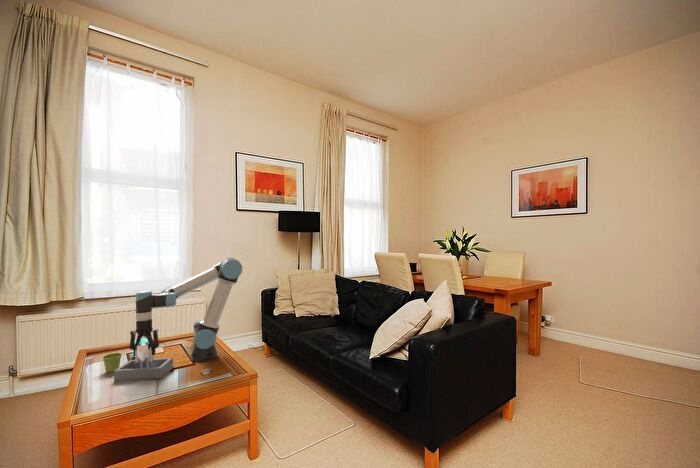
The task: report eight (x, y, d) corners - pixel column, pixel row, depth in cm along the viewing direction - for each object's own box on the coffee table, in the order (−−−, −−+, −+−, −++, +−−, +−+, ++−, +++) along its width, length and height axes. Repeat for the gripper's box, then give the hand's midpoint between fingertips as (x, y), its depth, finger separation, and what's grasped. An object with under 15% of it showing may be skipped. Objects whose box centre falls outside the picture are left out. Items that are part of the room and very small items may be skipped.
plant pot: (126, 368, 191) (126, 353, 191) (109, 375, 182) (109, 359, 182) (114, 366, 194) (114, 352, 194) (98, 373, 185) (97, 357, 185)
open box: (173, 368, 190) (172, 357, 190) (160, 379, 175) (160, 368, 175) (130, 370, 188) (130, 360, 188) (113, 382, 173) (113, 370, 173)
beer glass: (142, 369, 184) (140, 342, 184) (155, 368, 185) (153, 341, 185) (135, 374, 177) (133, 346, 178) (148, 373, 178) (146, 345, 178)
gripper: (166, 317, 186) (166, 357, 186) (129, 318, 185) (129, 359, 184) (159, 320, 179) (160, 362, 179) (121, 321, 177) (121, 364, 177)
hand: (144, 361), depth 182 cm, fingers closed on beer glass, 7 cm apart
